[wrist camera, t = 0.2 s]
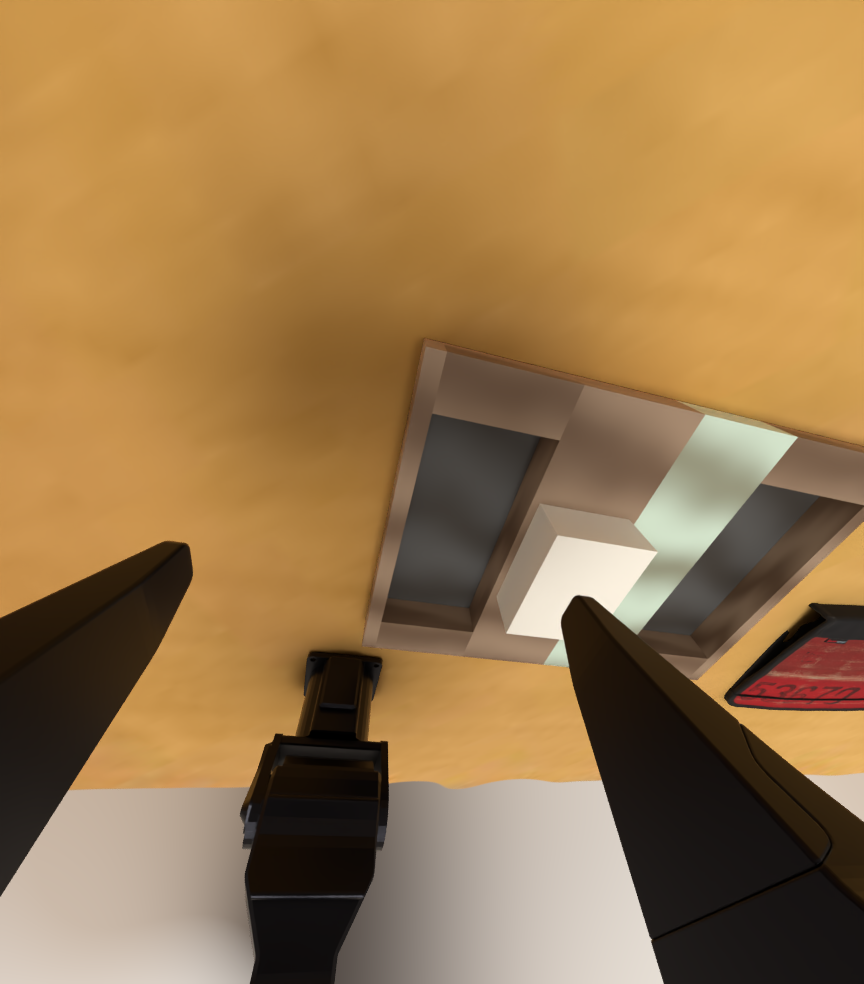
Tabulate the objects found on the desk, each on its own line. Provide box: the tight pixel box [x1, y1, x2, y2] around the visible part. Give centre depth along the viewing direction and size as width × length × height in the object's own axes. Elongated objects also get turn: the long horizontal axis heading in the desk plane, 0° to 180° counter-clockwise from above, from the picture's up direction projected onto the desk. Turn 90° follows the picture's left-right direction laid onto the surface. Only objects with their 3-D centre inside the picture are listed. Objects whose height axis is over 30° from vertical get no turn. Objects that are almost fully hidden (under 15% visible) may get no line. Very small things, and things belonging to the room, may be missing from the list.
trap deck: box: [362, 338, 864, 680], centre depth 25 cm, size 22×30×2 cm
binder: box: [725, 603, 864, 711], centre depth 36 cm, size 16×2×21 cm
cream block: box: [497, 504, 657, 640], centre depth 22 cm, size 8×6×3 cm
